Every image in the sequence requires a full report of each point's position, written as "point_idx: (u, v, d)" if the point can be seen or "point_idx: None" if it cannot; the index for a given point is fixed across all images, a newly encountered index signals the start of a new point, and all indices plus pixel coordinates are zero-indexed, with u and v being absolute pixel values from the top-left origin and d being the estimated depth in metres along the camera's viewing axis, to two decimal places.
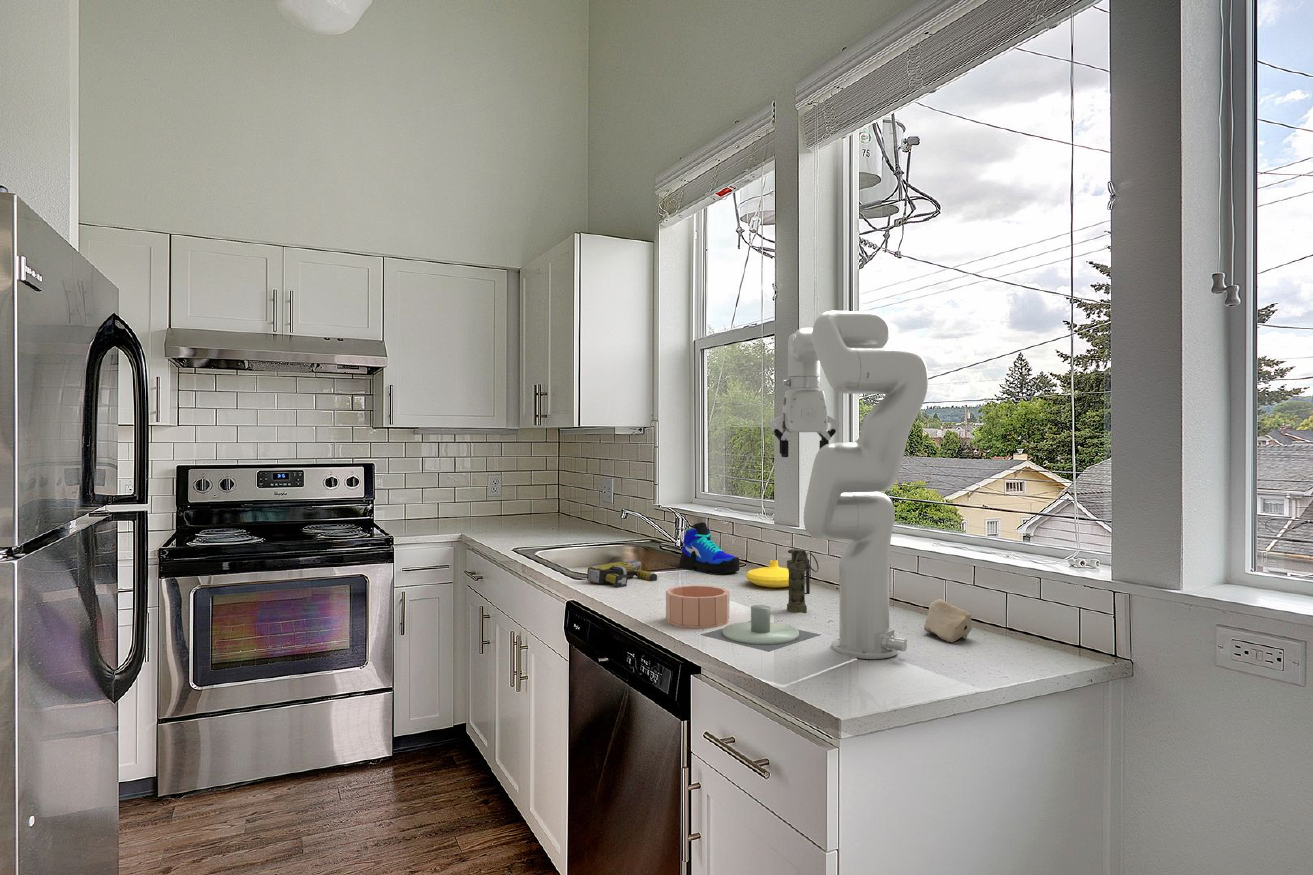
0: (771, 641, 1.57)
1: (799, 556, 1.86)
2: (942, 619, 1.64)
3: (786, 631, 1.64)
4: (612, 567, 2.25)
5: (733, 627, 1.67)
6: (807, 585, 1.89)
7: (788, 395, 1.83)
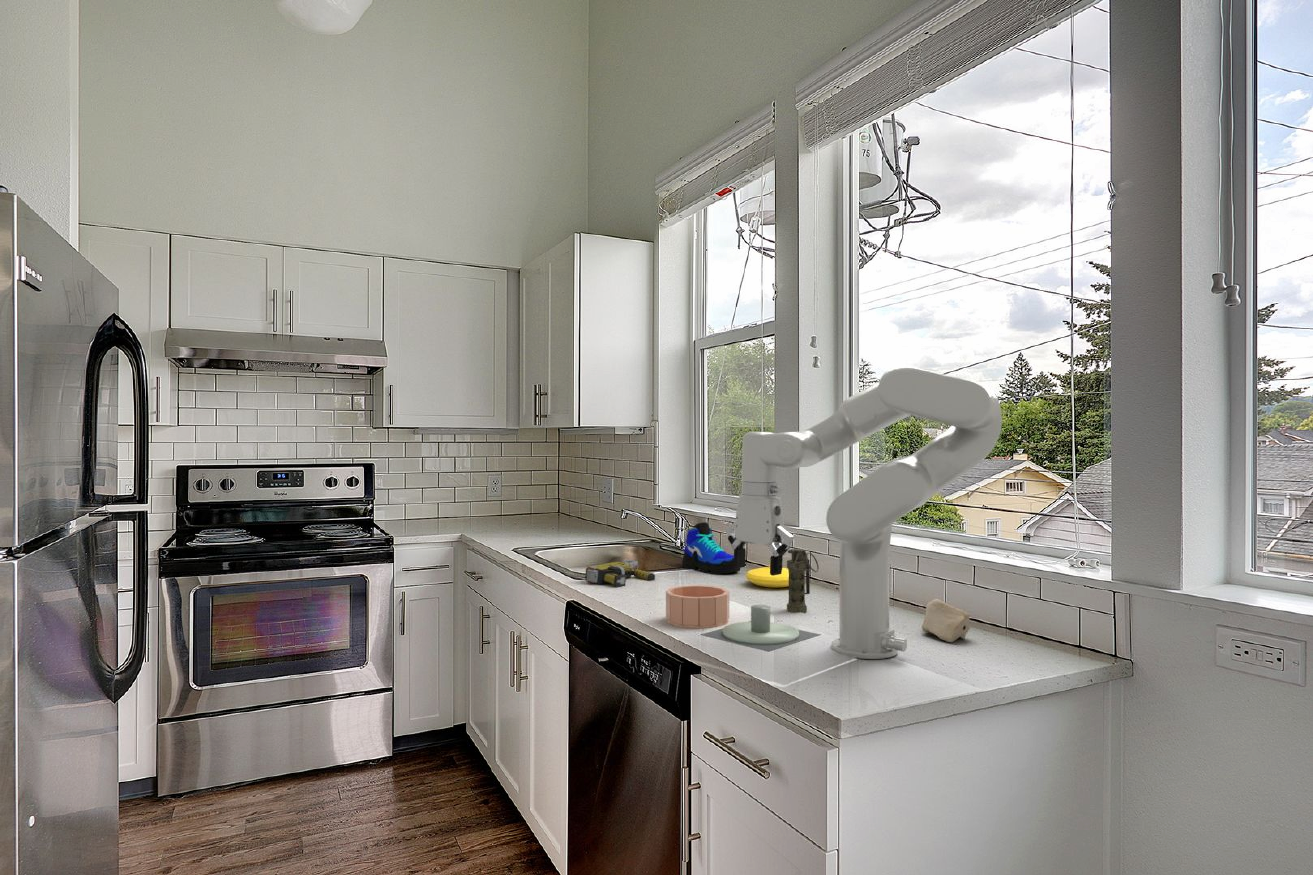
0: (771, 641, 1.57)
1: (799, 556, 1.86)
2: (940, 619, 1.64)
3: (786, 631, 1.64)
4: (610, 567, 2.26)
5: (733, 627, 1.67)
6: (807, 585, 1.89)
7: (781, 503, 1.62)
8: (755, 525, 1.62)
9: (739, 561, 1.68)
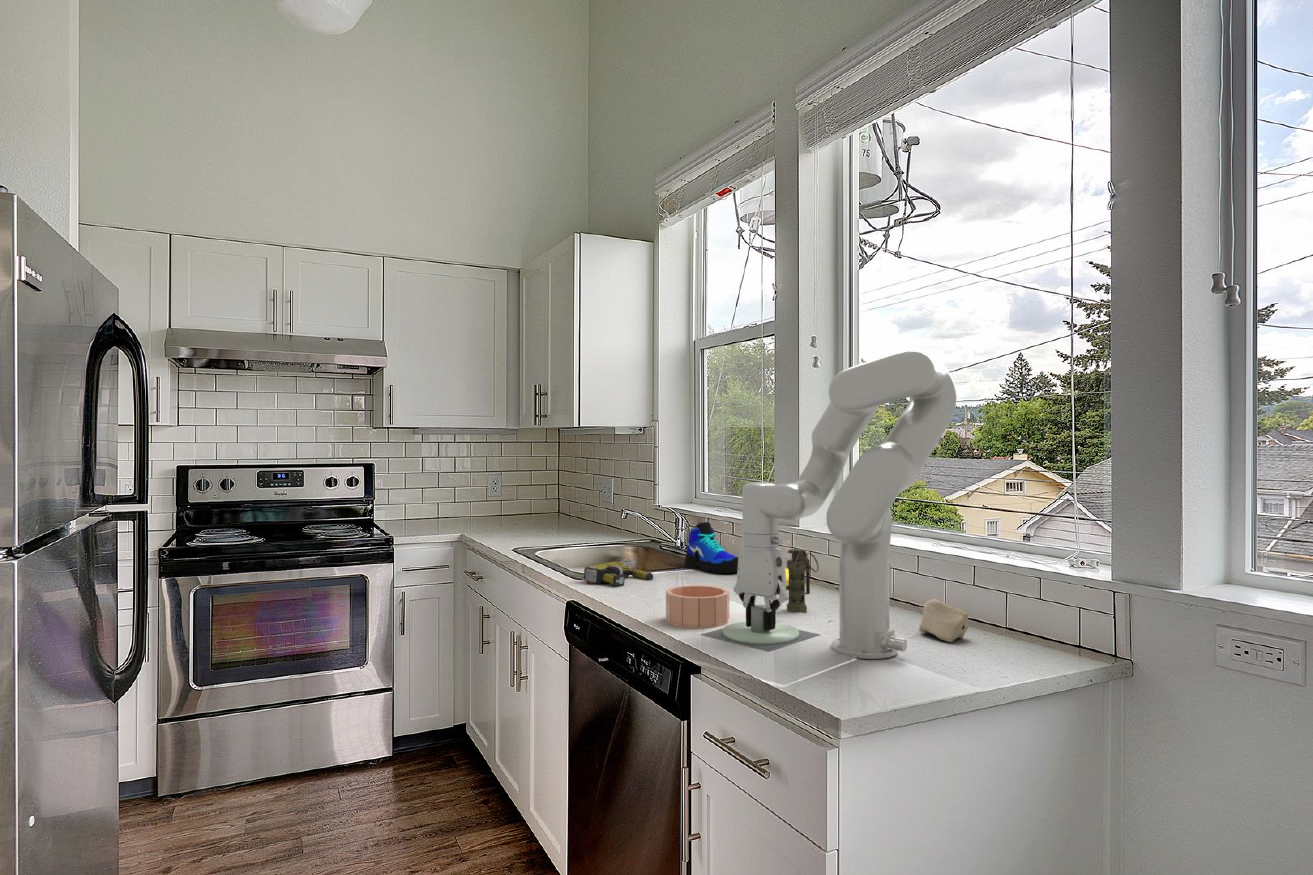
0: (771, 641, 1.57)
1: (799, 556, 1.86)
2: (938, 619, 1.64)
3: (786, 631, 1.64)
4: (609, 567, 2.26)
5: (733, 627, 1.67)
6: (807, 585, 1.89)
7: (782, 554, 1.62)
8: (757, 576, 1.62)
9: None
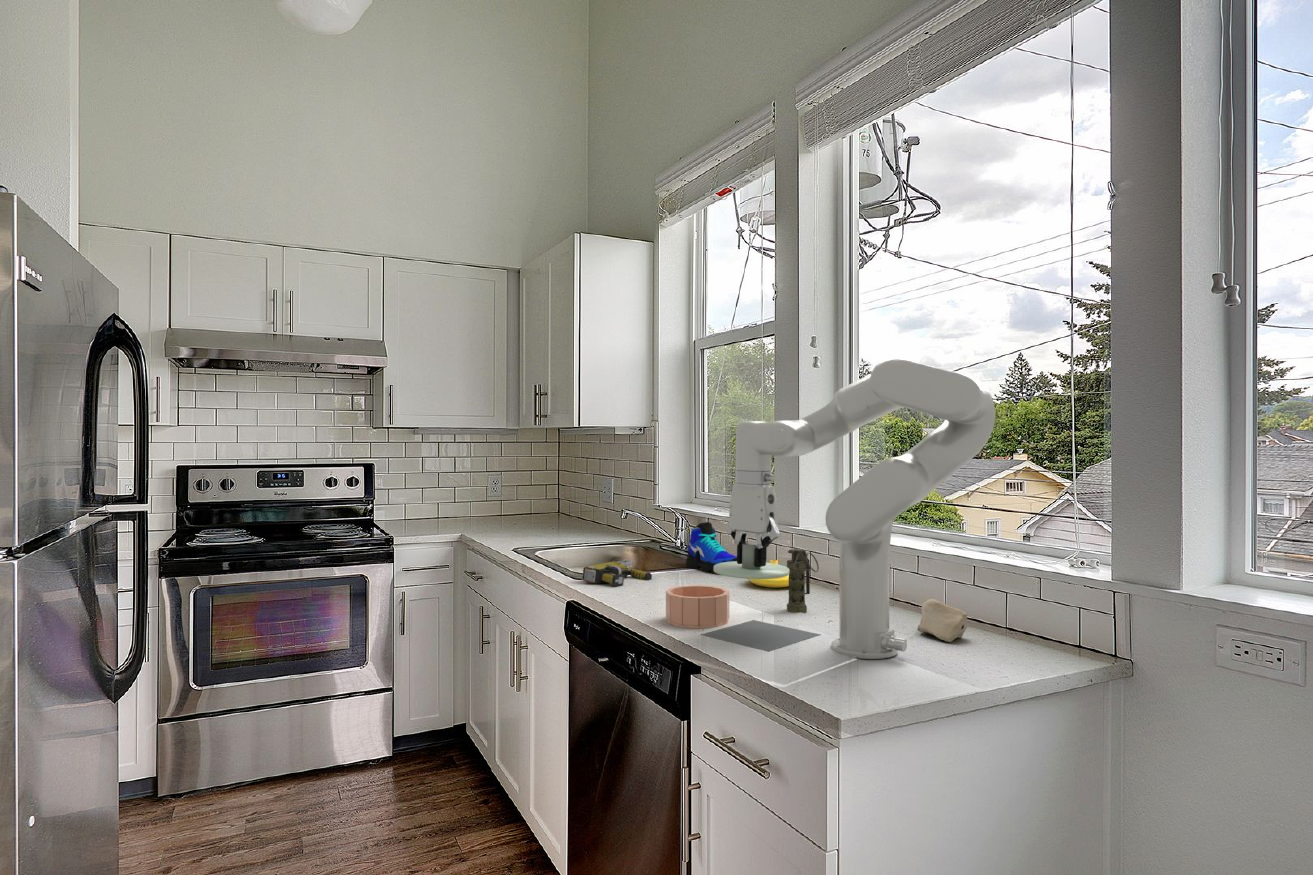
0: (762, 575, 1.58)
1: (799, 556, 1.86)
2: (937, 619, 1.64)
3: (776, 568, 1.65)
4: (607, 567, 2.26)
5: (724, 565, 1.69)
6: (807, 585, 1.89)
7: (774, 492, 1.64)
8: (749, 513, 1.63)
9: None
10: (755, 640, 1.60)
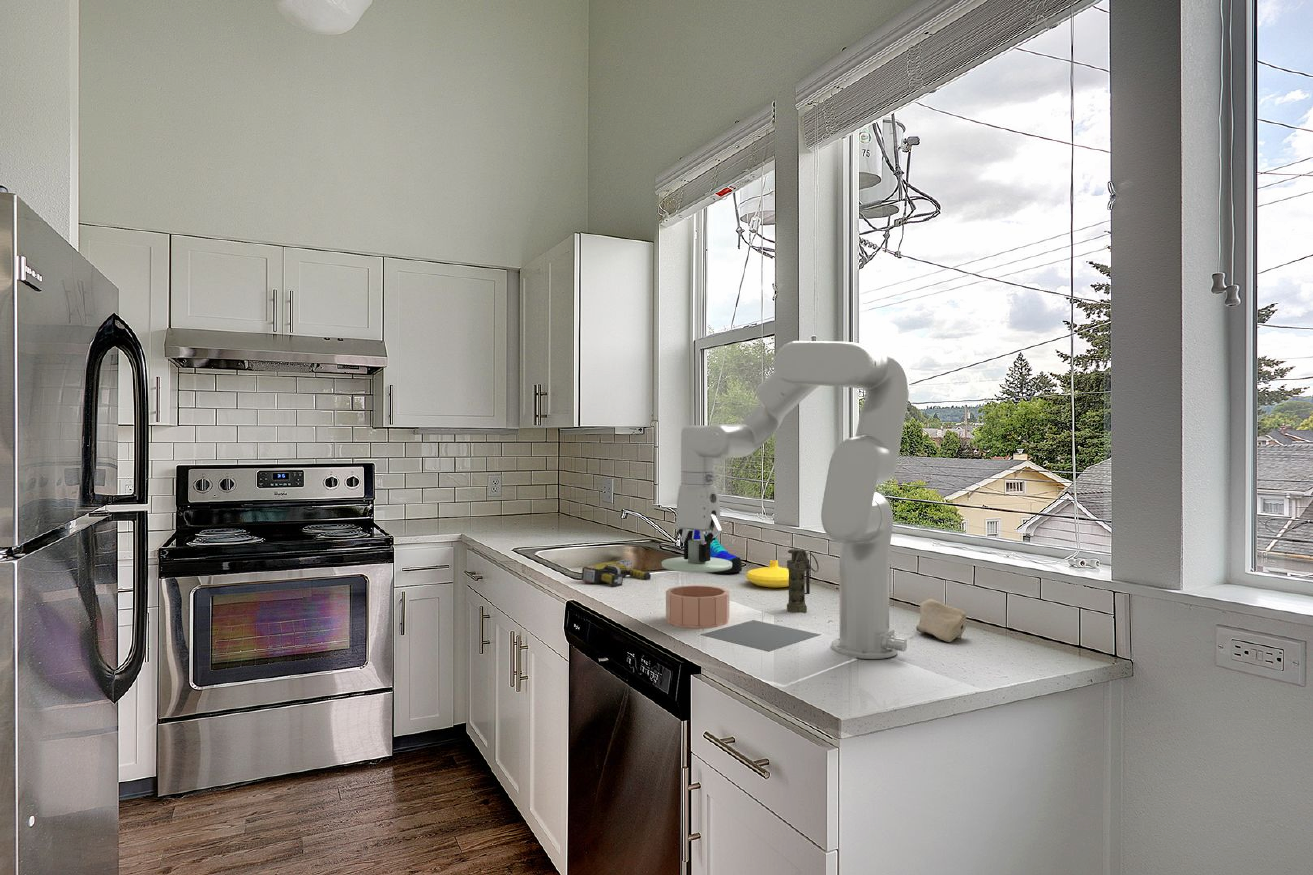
0: (704, 569, 1.70)
1: (799, 556, 1.86)
2: (937, 619, 1.64)
3: (720, 563, 1.77)
4: (606, 567, 2.26)
5: (672, 560, 1.80)
6: (807, 585, 1.89)
7: (717, 491, 1.75)
8: (693, 511, 1.75)
9: None
10: (755, 640, 1.60)
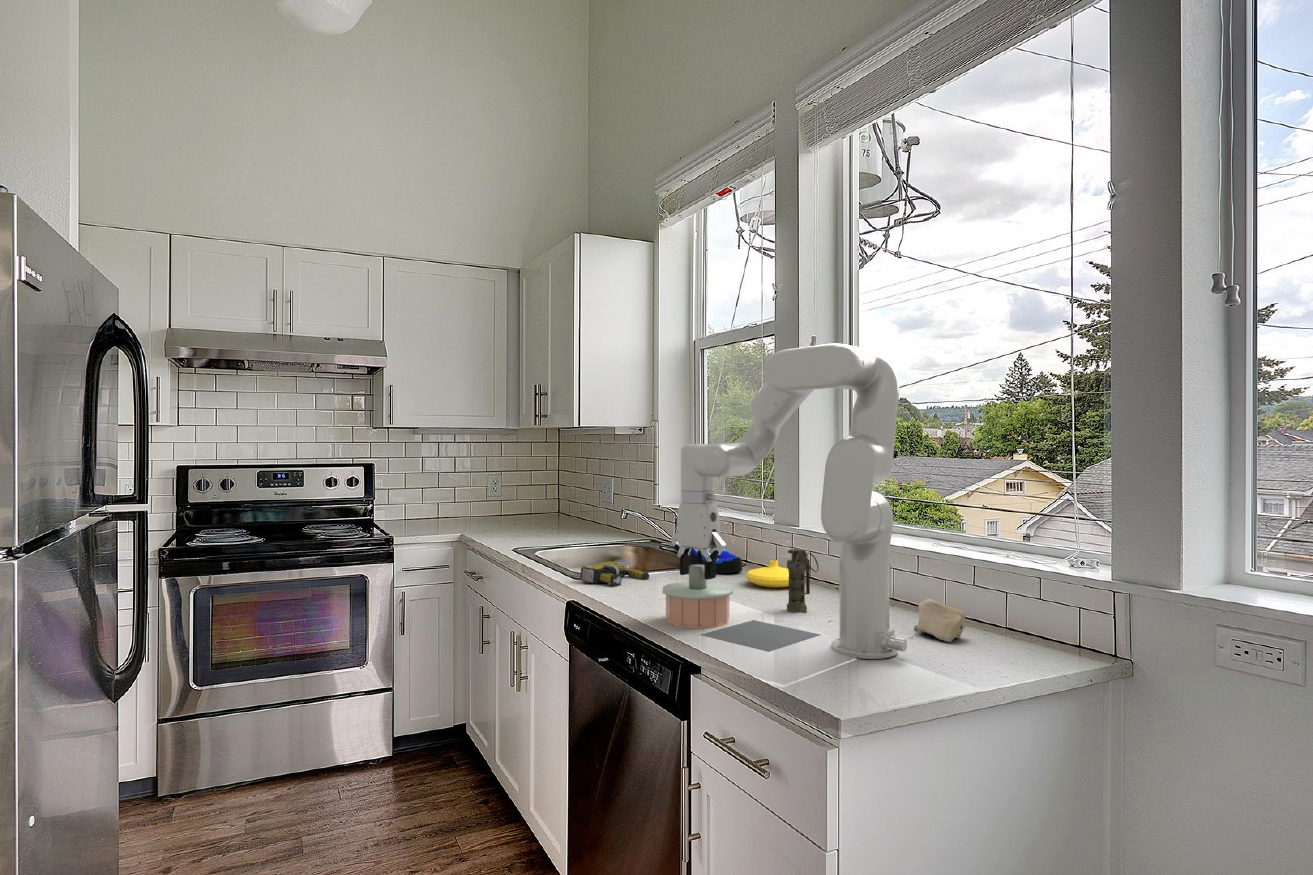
0: (705, 595, 1.69)
1: (799, 556, 1.86)
2: (936, 619, 1.64)
3: (721, 588, 1.77)
4: (605, 566, 2.26)
5: (673, 585, 1.80)
6: (807, 585, 1.89)
7: (717, 510, 1.75)
8: (693, 530, 1.75)
9: (684, 568, 1.79)
10: (755, 640, 1.60)
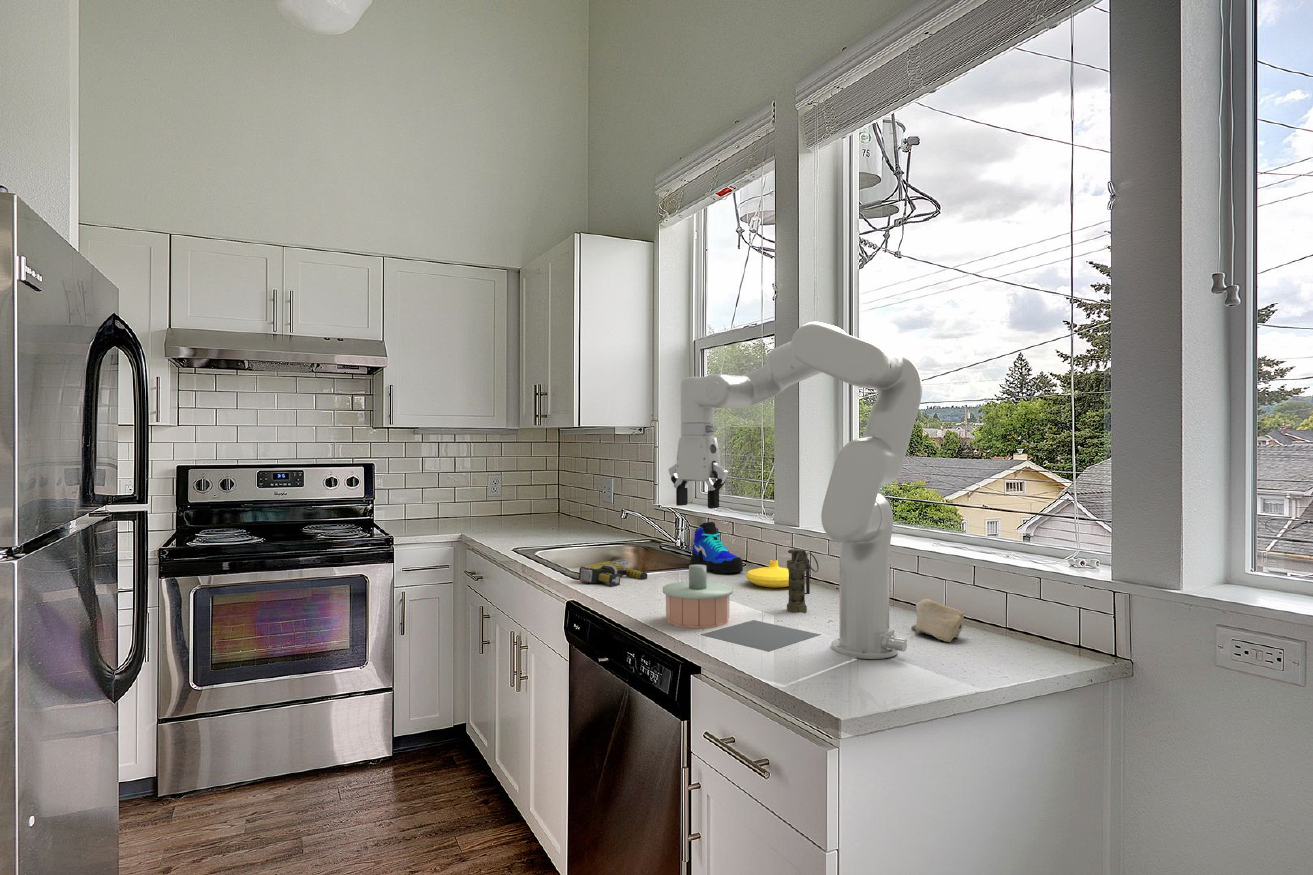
0: (705, 595, 1.69)
1: (799, 556, 1.86)
2: (934, 619, 1.64)
3: (721, 588, 1.77)
4: (603, 566, 2.27)
5: (673, 585, 1.80)
6: (807, 585, 1.89)
7: (717, 442, 1.75)
8: (693, 462, 1.75)
9: (681, 499, 1.80)
10: (755, 640, 1.60)
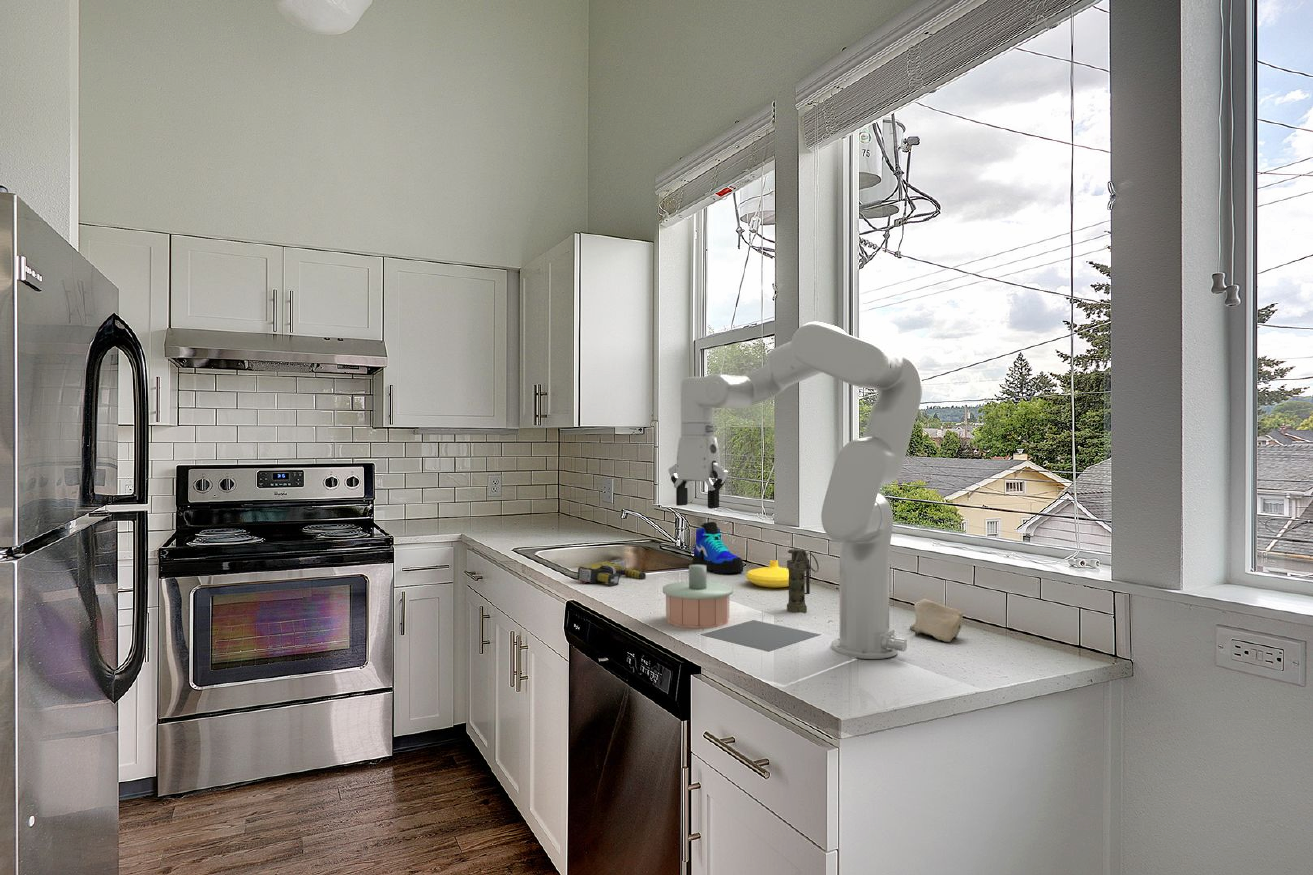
0: (705, 595, 1.69)
1: (799, 556, 1.86)
2: (934, 619, 1.64)
3: (721, 588, 1.77)
4: (602, 566, 2.27)
5: (673, 585, 1.80)
6: (807, 585, 1.89)
7: (717, 442, 1.75)
8: (693, 462, 1.75)
9: (681, 499, 1.80)
10: (755, 640, 1.60)
